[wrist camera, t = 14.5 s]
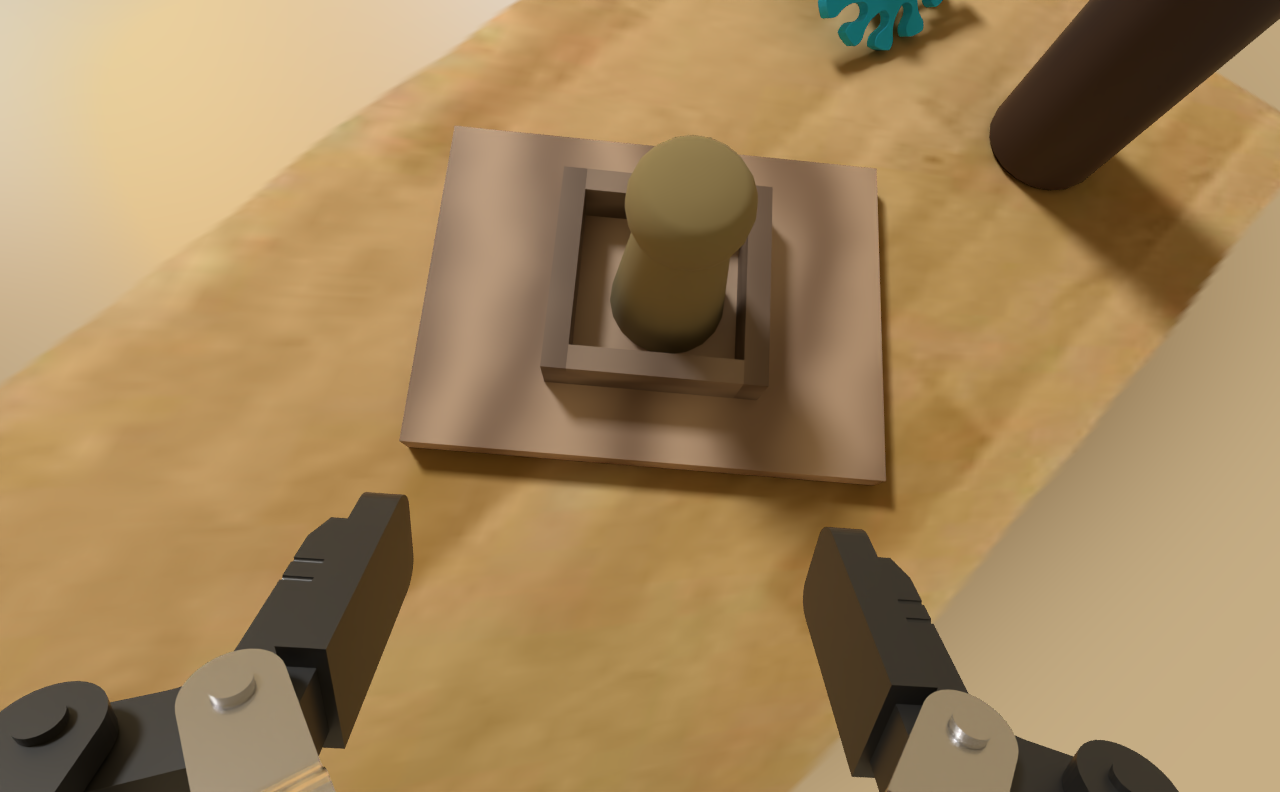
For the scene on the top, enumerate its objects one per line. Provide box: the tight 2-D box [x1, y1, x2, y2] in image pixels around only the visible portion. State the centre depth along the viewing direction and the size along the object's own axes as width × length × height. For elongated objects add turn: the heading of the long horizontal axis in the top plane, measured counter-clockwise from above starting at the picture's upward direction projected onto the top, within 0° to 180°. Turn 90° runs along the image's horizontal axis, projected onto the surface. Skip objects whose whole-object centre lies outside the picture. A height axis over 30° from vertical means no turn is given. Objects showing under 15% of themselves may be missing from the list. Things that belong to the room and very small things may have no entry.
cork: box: [610, 135, 758, 354], centre depth 30 cm, size 6×6×11 cm
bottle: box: [990, 0, 1280, 190], centre depth 31 cm, size 7×7×20 cm
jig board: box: [399, 126, 886, 485], centre depth 34 cm, size 24×18×4 cm
